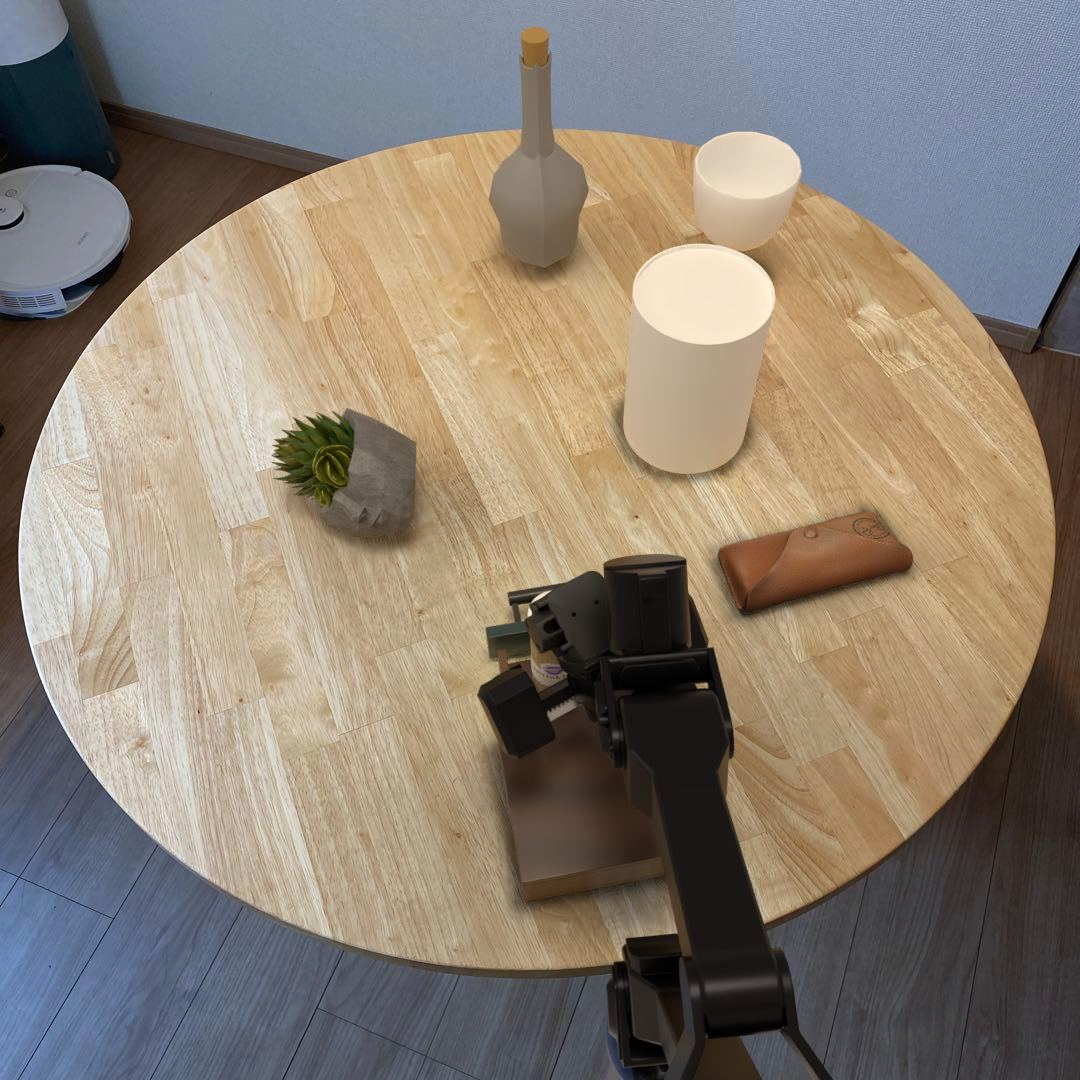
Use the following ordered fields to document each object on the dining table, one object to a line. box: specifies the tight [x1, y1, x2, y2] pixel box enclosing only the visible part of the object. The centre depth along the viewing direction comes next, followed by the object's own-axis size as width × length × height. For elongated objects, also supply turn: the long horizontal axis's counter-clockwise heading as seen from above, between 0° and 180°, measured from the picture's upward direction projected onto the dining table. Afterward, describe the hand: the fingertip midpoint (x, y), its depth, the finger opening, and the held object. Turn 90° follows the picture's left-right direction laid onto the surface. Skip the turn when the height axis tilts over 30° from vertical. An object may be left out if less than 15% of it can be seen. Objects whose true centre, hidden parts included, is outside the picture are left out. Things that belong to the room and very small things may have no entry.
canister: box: [622, 243, 776, 475], centre depth 108 cm, size 14×14×20 cm
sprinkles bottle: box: [527, 591, 567, 693], centre depth 92 cm, size 5×5×14 cm
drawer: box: [484, 581, 586, 716], centre depth 98 cm, size 17×11×4 cm
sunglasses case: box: [717, 511, 914, 615], centre depth 105 cm, size 18×7×7 cm, turn 107°
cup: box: [692, 131, 803, 252], centre depth 122 cm, size 12×12×17 cm
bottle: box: [488, 26, 590, 269], centre depth 119 cm, size 11×11×30 cm
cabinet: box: [496, 712, 665, 903], centre depth 91 cm, size 14×13×6 cm
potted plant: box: [270, 407, 417, 538], centre depth 107 cm, size 12×13×15 cm
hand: (558, 647), depth 91 cm, fingers open, 9 cm apart
